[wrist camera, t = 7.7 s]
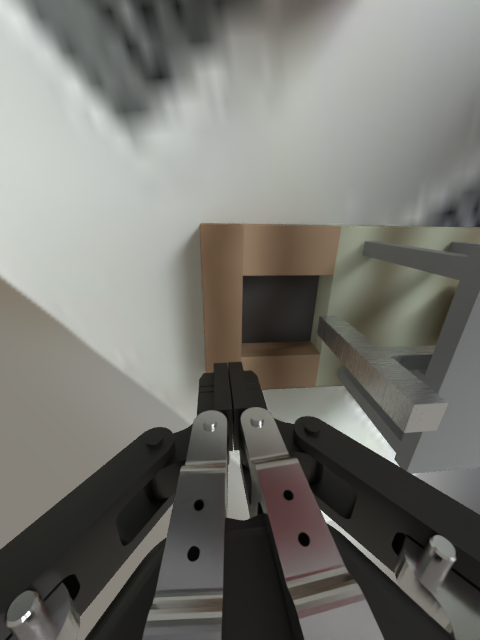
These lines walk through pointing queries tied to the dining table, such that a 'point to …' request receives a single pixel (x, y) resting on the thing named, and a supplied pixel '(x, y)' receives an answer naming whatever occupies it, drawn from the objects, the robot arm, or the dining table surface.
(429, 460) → the tunnel
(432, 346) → the slider
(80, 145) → the dining table surface
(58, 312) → the dining table surface
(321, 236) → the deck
